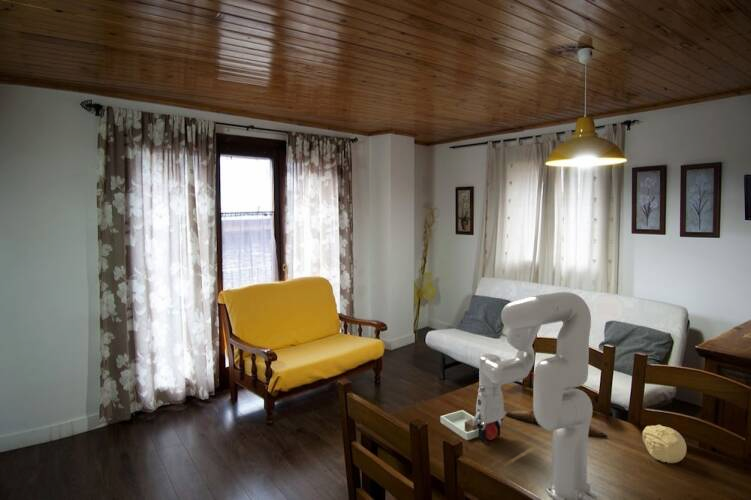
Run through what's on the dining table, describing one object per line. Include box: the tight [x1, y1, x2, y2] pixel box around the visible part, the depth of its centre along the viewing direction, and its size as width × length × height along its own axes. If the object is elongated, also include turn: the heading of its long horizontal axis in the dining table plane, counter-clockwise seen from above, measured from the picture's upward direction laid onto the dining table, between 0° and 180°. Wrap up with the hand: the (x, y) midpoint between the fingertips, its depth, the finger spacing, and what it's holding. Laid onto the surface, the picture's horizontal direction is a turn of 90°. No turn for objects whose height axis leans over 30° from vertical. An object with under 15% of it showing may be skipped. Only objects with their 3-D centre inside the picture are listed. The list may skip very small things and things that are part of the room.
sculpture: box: [642, 424, 687, 464], centre depth 153 cm, size 12×12×11 cm
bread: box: [505, 409, 608, 438], centre depth 176 cm, size 38×5×5 cm, turn 59°
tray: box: [439, 409, 483, 441], centre depth 175 cm, size 16×11×3 cm
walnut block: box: [465, 419, 479, 432], centre depth 171 cm, size 4×4×4 cm
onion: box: [485, 422, 498, 441], centre depth 166 cm, size 6×6×8 cm
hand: (489, 436), depth 166 cm, fingers open, 6 cm apart
